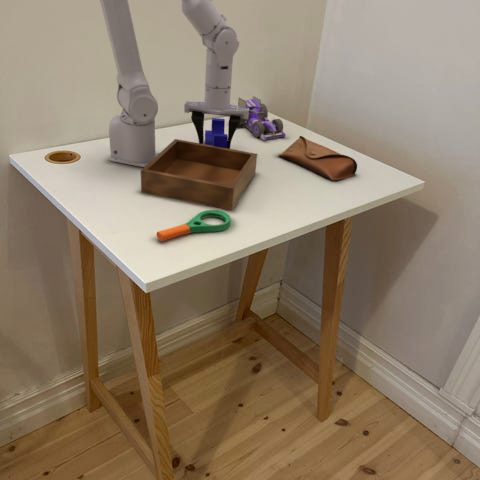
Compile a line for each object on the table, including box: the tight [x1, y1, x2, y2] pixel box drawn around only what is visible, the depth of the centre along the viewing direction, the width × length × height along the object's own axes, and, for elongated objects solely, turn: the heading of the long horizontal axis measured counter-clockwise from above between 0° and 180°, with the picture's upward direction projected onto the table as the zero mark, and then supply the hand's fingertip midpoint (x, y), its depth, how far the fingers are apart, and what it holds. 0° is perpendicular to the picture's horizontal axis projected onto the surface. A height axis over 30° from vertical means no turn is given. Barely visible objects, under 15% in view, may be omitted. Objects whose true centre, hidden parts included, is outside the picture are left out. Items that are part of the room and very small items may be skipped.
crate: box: [140, 138, 258, 211], centre depth 108 cm, size 19×19×5 cm
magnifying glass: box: [155, 209, 231, 242], centre depth 93 cm, size 15×6×2 cm, turn 131°
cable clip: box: [204, 117, 228, 148], centre depth 121 cm, size 12×4×6 cm, turn 5°
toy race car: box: [228, 95, 286, 142], centre depth 135 cm, size 10×15×6 cm, turn 33°
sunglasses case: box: [278, 135, 358, 181], centre depth 121 cm, size 18×7×7 cm, turn 44°
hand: (214, 146), depth 122 cm, fingers open, 6 cm apart
